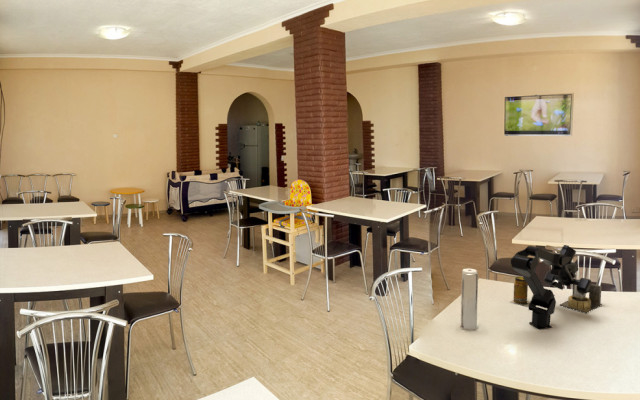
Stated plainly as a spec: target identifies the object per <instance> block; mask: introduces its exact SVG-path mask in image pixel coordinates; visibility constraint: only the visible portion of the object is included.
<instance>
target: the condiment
mask: <svg viewBox="0 0 640 400" xmlns="http://www.w3.org/2000/svg"><path fill="white" fill-rule="evenodd" d="M514 279H515V280H514V284H513V299H512V300H510V301H509V303H513V304H516V305H520V306H525V307H528V306H529V303H530V301H531V300H530V301H529V300H528V288H529V286H528V284H527V283H526V281H525V279H524V277H523V276H516V277H515V278H514Z"/></svg>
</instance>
